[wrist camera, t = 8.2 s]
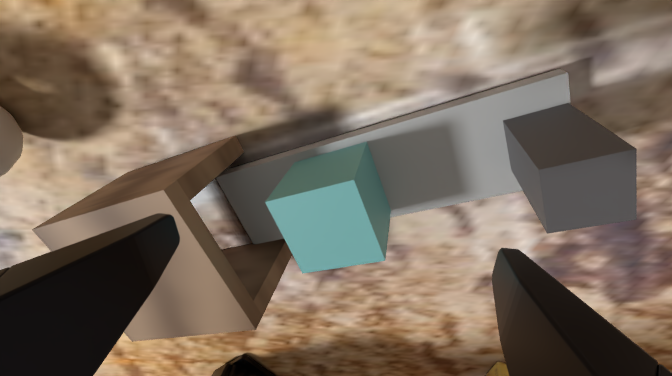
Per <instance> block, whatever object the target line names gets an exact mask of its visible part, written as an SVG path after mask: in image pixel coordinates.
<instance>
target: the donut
mask: <svg viewBox="0 0 672 376" xmlns="http://www.w3.org/2000/svg"><path fill="white" fill-rule="evenodd" d="M22 148H23V134H22V131H21V129H20V127H19V126H18V124H17V122H16V121H15V119H14V118H13V116H12V115H11V114H10V113H9V112H8V111H6V110H5V109H4V108H2V107H1V106H0V176H2V175H4V174H6V173H7V172H8V171H9V170H10V169H11V167H12V166H13V165H14V164H15V163H16V161H17V160H18V159H19V158H20V156H21V153H22Z"/></svg>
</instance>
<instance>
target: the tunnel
mask: <svg viewBox="0 0 672 376" xmlns="http://www.w3.org/2000/svg"><path fill="white" fill-rule="evenodd" d="M243 153H244V151H243V149H242V147H241V145H240V143H239V141H238V139H237V137H236V136H233V137H230V138H227V139H224V140H221V141H218V142H215V143H212V144H209V145H206V146H204V147H201V148H198V149H195V150H192V151H189V152H186V153H183V154H180V155H177V156H174V157H171V158H169V159H166V160H163V161H160V162H157V163H154V164H151V165H148V166H145V167H142V168H139V169H136V170H134V171H131V172H128V173H126V174H124V175H122V176H121V177H119V178H117V179H116V180H114V181H112V182H111V183H109V184H107V185H106V186H104V187H102V188H101V189H99V190H97V191H96V192H94V193H92V194H91V195H89V196H87V197H86V198H84V199H82V200H81V201H79V202H77V203H76V204H74V205H72V206H71V207H69V208H67V209H66V210H64V211H62V212H61V213H59V214H57V215H56V216H54V217H52V218H51V219H49V220H47V221H46V222H44V223H42V224H41V225H39V226H37V227H36V228H34V229H32V230H33V231H34V232H35V234H36V235H37V236H38V237H39V238H40V239H41V240H42V241H43V242H44V244H45V245H46V246H47V247H48V248H49V249H50V250H51V251H55V250H57V249H60V248H63V247H66V246H68V245H71V244H74V243H77V242H79V241H82V240H85V239H88V238H90V237H93V236H96V235H99V234H101V233H104V232H107V231H110V230H112V229H115V228H118V227H121V226H123V225H126V224H129V223H132V222H135V221H137V220H140V219H143V218H146V217H148V216H151V215H154V214H157V213H163V214H170V215H172V216H173V217H174V219H175V222H176V225H177V229H178V232H179V235H180V243H179V245H178V247H177V249H176V251H175V253H174V254H173V256H172V258H171V260H170V261H169V263H168V265H167V267H166V269H165V270H164V272H163V274H162V276H161V277H160V279H159V281H158V283H157V284H156V286H155V288H154V289H153V291H152V292H151V294H150V295H149V297H148V298H147V300H146V301H145V302H144V304H143V305H142V307H141V308H140V310H139V311H138V312H137V314H136V315H135V317H134V318H133V320H132V321H131V322H130V324H129V325H128V327H127V328H126V330H125V331H124V333H125V334H126V335H127V336H128V338H129V339H130V340H131V341H142V340H153V339H163V338H174V337H185V336H195V335H206V334H216V333H227V332H237V331H248V330H256V328H257V326H258V324H259V322H260V320H261V318H262V316H263V314H264V312H265V310H266V307H267V305H268V303H269V301H270V299H271V297H272V295H273V293H274V291H275V289H276V287H277V285H278V283H279V281H280V278H281V276H282V274H283V272H284V270H285V268H286V266H287V264H288V262H289V260H290V258H291V256H292V252H291V251H290V249H289V247H288V245H287V243H286V241H285V239H280V240H275V241H270V242H265V243H260V244H255V245H254V244H248V245H244V246H239V247H234V248H229V249H224V250H221V249H220V248H219V246H218V244H217V243H216V241H215V240H214V238H213V236H212V235H211V233H210V232H209V230H208V229H207V227H206V225H205V224H204V222H203V221H202V219H201V218H200V216H199V214H198V213H197V211H196V210H195V208H194V207H193V205H192V203H191V202H190V200H191V199H192V198H193V197H194V196H196V195H197V194H198V193H199V192H200V191H201V190H202V189H203V188H205V187H206V186H207V185H208V184H209V183H210V182H211V181H212V180H214V179H215V178H216V177H217V176H218V175H219V174H220V173H221V172H222V171H224V170H225V169H226V168H227V167H228V166H229V165H230V164H231V163H233V162H234V161H235V160H236V159H237V158H238V157H239V156H240V155H242V154H243Z"/></svg>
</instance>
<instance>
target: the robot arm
mask: <svg viewBox="0 0 672 376" xmlns="http://www.w3.org/2000/svg"><path fill="white" fill-rule="evenodd" d="M179 243H180V235H179V232H178V229H177V225H176V222H175V219H174V217H173V216H172V215H170V214H163V213H157V214H154V215H151V216H148V217H146V218H143V219H140V220H137V221H135V222H132V223H129V224H126V225H123V226H121V227H118V228H115V229H112V230H110V231H107V232H104V233H101V234H99V235H96V236H93V237H90V238H88V239H85V240H82V241H79V242H77V243H74V244H71V245H68V246H66V247H63V248H60V249H57V250H55V251H52V252H49V253H46V254H44V255H41V256H38V257H35V258H33V259H30V260H27V261H24V262H22V263H19V264H16V265H13V266H12V267H11V268H9V267H8V268H5V269H2V270H0V376H93V375H94V374H95V372H96V371H97V369H98V368H99V367H100V365H101V364H102V362H103V361H104V359H105V358H106V357H107V355H108V354H109V352H110V351H111V350H112V348H113V347H114V345H115V344H116V342H117V341H118V340H119V338H120V337H121V335H122V334H123V332H124V331H125V330H126V328H127V327H128V325H129V324H130V322H131V321H132V320H133V318H134V317H135V315H136V314H137V312H138V311H139V310H140V308H141V307H142V305H143V304H144V302H145V301H146V300H147V298H148V297H149V295H150V294H151V292H152V291H153V289H154V288H155V286H156V284H157V283H158V281H159V279H160V277H161V276H162V274H163V272H164V270H165V269H166V267H167V265H168V263H169V261H170V260H171V258H172V256H173V254H174V253H175V251H176V249H177V247H178V245H179ZM492 285H493V293H494V300H495V307H496V315H497V322H498V329H499V336H500V341H501V346H502V350H503V354H504V358H505V361H506V365H507V369H508V373H509V376H672V372H670V371H669V370H668V369H667V368H665V367H664V366H663V365H658V362H657V361H656V360H655V359H654V358H653V357H651V356H650V355H649V354H648V353H647V352H645V351H644V350H643V349H642V348H640V347H639V346H638V345H637V344H635V343H634V342H633V341H632V340H630V339H629V338H628V337H627V336H625V335H624V334H623V333H622V332H620V331H619V330H618V329H617V328H615V327H614V326H613V325H612V324H611V323H609V322H608V321H607V320H606V319H604V318H603V317H602V316H601V315H599V314H598V313H597V312H596V311H594V310H593V309H592V308H591V307H589V306H588V305H587V304H586V303H584V302H583V301H582V300H581V299H579V298H578V297H577V296H576V295H575V294H573V293H572V292H571V291H570V290H568V289H567V288H566V287H565V286H563V285H562V284H561V283H560V282H558V281H557V280H556V279H555V278H553V277H552V276H551V275H550V274H548V273H547V272H546V271H545V270H543V269H542V268H541V267H540V266H538V265H537V264H536V263H535V262H534V261H532V260H531V259H530V258H529V257H527V256H526V255H525V254H524V253H522V252H521V251H520V250H517V249H509V248H501V249H500V250H499V252H498V254H497V258H496V262H495V266H494V269H493V273H492ZM212 376H274V375H272V374H271V373H270V372H268V371H267V370H266V369H264V368H263V367H262V366H260V365H259V364H258V363H256V362H255V361H254V360H252V359H251V358H250V357H248V356H246V355H242V356H240V357H238V358H236V359H235V360H233V361H231V362H230V363H226V364H225V365H223V366H221V367H220V368H218V369H216V370H215V371H214V372H213V374H212Z"/></svg>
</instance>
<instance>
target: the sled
mask: <svg viewBox="0 0 672 376" xmlns="http://www.w3.org/2000/svg"><path fill="white" fill-rule="evenodd" d="M216 180H217V182H218V183H219V185H220V187H221V189H222V190H223V192H224V194H225V195H226V197H227V199H228V201H229V202H230V204H231V206H232V208H233V209H234V211H235V213H236V214H237V216H238V218H239V220H240V221H241V223H242V225H243V227H244V228H245V230H246V232H247V233H248V235H249V237H250V239H251V240H252V242H253V244H254V245H255V244H260V243H265V242H270V241H275V240H280V239H285V241H286V243H287V245H288V247H289V249H290V251H291V252H292V254H293V256H294V258H295V260H296V262H297V264H298V266H299V268H300V269H301V271H302V273H308V272H315V271H321V270H328V269H334V268H340V267H347V266H353V265H360V264H366V263H373V262H379V261H385V258H386V249H387V241H388V232H389V223H390V217H394V216H399V215H404V214H409V213H414V212H419V211H424V210H429V209H434V208H439V207H444V206H449V205H454V204H459V203H464V202H469V201H474V200H479V199H484V198H489V197H494V196H499V195H504V194H509V193H514V192H519V191H523V192H524V193H525V195H526V197H527V199H528V200H529V202H530V204H531V206H532V207H533V209H534V211H535V213H536V214H537V216H538V218H539V220H540V222H541V223H542V225H543V227H544V229H545V230H546V232H547V233H553V232H560V231H566V230H572V229H579V228H585V227H591V226H598V225H604V224H611V223H617V222H623V221H630V220H636V148H634V147H633V146H631V145H630V144H628V143H627V142H626V141H624V140H623V139H621V138H620V137H618V136H617V135H615V134H614V133H612V132H611V131H609V130H608V129H606V128H605V127H603V126H602V125H600V124H599V123H597V122H596V121H594V120H593V119H591V118H590V117H588V116H587V115H585V114H584V113H582V112H581V111H579V110H578V109H576V108H575V107H573V106H572V105H571V102H570V90H569V78H568V72H566V71H564V70H562V69H557V70H554V71H550V72H547V73H544V74H540V75H537V76H534V77H530V78H527V79H524V80H521V81H517V82H514V83H511V84H507V85H504V86H501V87H498V88H494V89H491V90H488V91H484V92H481V93H478V94H474V95H471V96H468V97H465V98H461V99H458V100H455V101H451V102H448V103H445V104H441V105H438V106H435V107H432V108H428V109H425V110H422V111H418V112H415V113H412V114H408V115H405V116H402V117H399V118H395V119H392V120H389V121H385V122H382V123H379V124H376V125H372V126H369V127H366V128H362V129H359V130H356V131H352V132H349V133H346V134H343V135H339V136H336V137H333V138H329V139H326V140H323V141H319V142H316V143H313V144H310V145H306V146H303V147H300V148H296V149H293V150H290V151H286V152H283V153H280V154H277V155H273V156H270V157H267V158H263V159H260V160H257V161H254V162H250V163H247V164H244V165H240V166H237V167H234V168H230V169H227V170H224V171H222V172H221V173H220V174H219V175H218V176H217V177H216Z"/></svg>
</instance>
